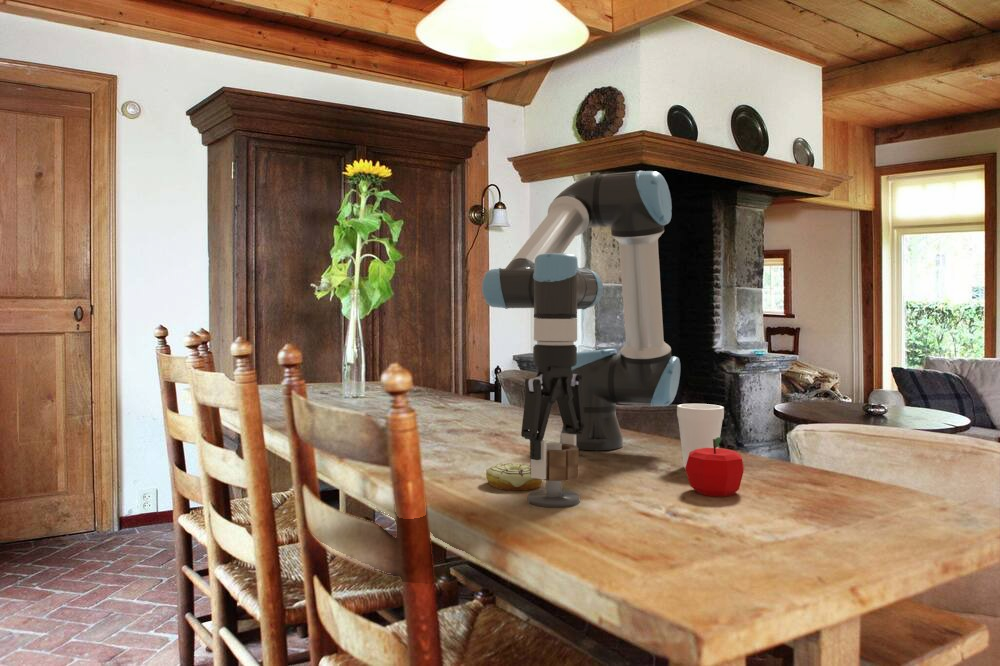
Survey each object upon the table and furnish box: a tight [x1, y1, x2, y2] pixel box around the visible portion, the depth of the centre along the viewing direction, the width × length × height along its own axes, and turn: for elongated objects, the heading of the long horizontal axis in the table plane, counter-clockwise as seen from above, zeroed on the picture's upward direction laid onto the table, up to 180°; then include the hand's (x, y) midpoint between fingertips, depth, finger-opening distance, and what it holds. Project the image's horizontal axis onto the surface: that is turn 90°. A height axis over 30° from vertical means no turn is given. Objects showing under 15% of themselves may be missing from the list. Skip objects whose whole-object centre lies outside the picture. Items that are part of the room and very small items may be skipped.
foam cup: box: [676, 403, 725, 469], centre depth 168 cm, size 10×9×13 cm
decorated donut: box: [485, 462, 543, 491], centre depth 151 cm, size 10×11×4 cm
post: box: [527, 442, 581, 509], centre depth 139 cm, size 9×9×10 cm
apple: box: [684, 437, 745, 497], centre depth 146 cm, size 11×11×10 cm
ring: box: [529, 443, 580, 482], centre depth 139 cm, size 8×8×5 cm
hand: (553, 474), depth 139 cm, fingers closed on ring, 8 cm apart
